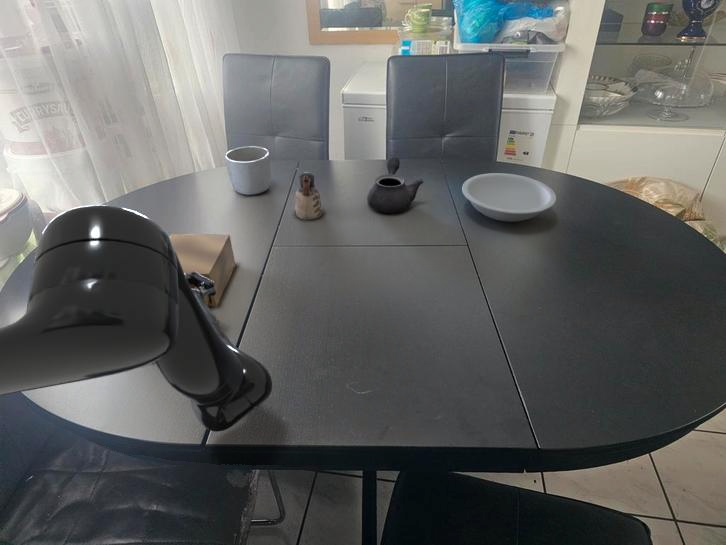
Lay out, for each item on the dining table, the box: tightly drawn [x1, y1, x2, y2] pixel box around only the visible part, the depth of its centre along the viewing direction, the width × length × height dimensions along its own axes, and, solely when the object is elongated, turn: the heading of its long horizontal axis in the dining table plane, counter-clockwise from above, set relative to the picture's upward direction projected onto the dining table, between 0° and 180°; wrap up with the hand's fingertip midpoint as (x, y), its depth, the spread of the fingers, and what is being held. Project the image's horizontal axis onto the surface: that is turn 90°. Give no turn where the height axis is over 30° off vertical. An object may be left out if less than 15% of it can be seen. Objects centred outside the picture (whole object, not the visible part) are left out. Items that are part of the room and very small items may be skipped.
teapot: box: [366, 156, 424, 213], centre depth 125 cm, size 19×15×10 cm
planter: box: [224, 146, 272, 196], centre depth 131 cm, size 12×12×11 cm
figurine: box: [294, 171, 323, 221], centre depth 118 cm, size 7×7×12 cm
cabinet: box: [169, 233, 237, 308], centre depth 93 cm, size 15×13×8 cm
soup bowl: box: [461, 172, 557, 223], centre depth 120 cm, size 24×24×7 cm
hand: (160, 274), depth 82 cm, fingers closed on sprinkles bottle, 4 cm apart
